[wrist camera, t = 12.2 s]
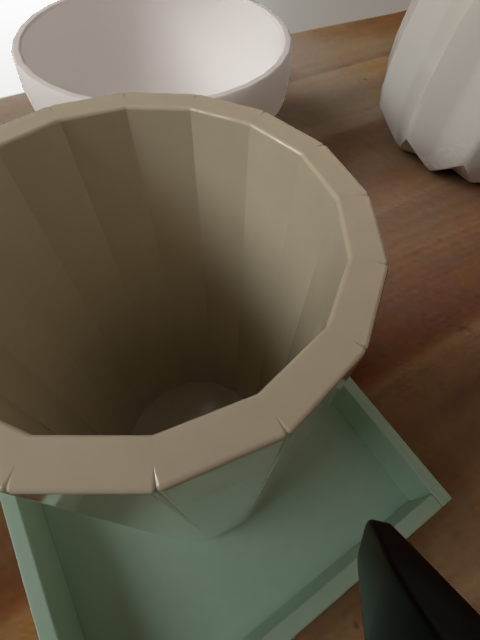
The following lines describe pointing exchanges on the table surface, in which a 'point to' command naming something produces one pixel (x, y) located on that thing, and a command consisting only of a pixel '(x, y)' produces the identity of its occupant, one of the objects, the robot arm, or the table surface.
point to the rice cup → (173, 305)
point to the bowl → (155, 51)
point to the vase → (436, 85)
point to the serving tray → (229, 546)
